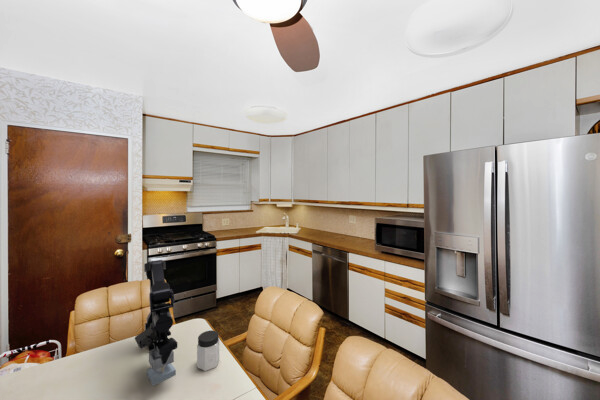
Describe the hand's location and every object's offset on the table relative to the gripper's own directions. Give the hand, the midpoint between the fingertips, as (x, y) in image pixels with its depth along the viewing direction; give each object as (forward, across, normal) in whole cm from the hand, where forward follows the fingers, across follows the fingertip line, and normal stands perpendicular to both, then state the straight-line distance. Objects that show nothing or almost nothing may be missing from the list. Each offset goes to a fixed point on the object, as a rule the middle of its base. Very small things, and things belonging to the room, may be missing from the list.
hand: (161, 359), depth 97 cm
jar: (+6, +7, +16) cm, 19 cm away
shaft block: (+6, 0, 0) cm, 6 cm away
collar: (+1, 0, 0) cm, 1 cm away
